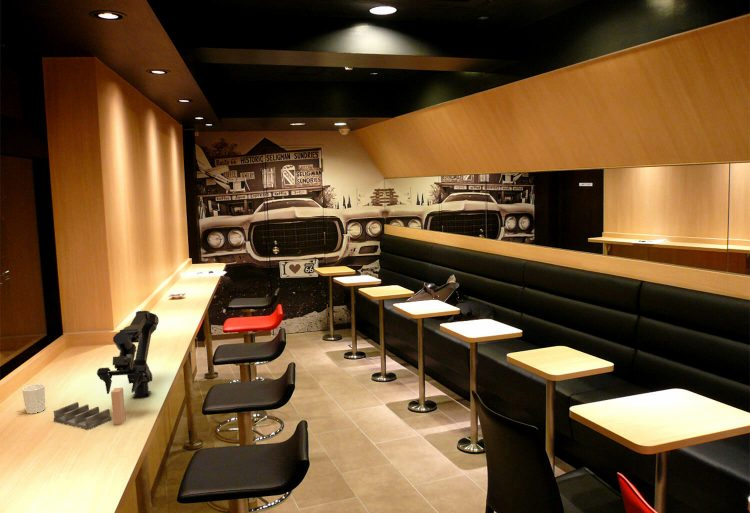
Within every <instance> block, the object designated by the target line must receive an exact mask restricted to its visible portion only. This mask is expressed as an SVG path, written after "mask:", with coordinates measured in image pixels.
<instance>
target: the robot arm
mask: <svg viewBox="0 0 750 513" xmlns="http://www.w3.org/2000/svg"><path fill="white" fill-rule="evenodd" d="M159 322H160V320H159V317H158V315H157V314H155V313H152V312H150V311H149V310H138V311H136V312H135V316H134V318H133V319H132V321H131V323H130V324H129V325H128V326H125V327H124V328H123V329H120V330H119V332H117V333H115V334H114V336H113V337H112V340H113V341H112V342H113V343H114V344H115V346H116V348H117V349H118V350H119V355H117V356H112V366H114V370H111V369H110V367H99V368H98V369H97V371H96V375H97V377H98V378H99V379H100V380H101V381H103V382H104V384H105V385H104V386H105V391H106V394H107V395H109V394H110V393H111V388H112V387H111V386H112V382H113V380H112V378H113V376H127V380H128V384H132V386H131V393H133V396H132V398H133V399H139V398H140V399H141V398H148V397H150V396H151V395H150V394H151V390H149V383H150V382H152V381H153V374H152V373H153V372H151V370H150V367H149V365H148V362H147V360H148V355H149V350H150V349H149V348H150V344H151V343H150V342H151V339H152V338H151V337H152V335H153V333H154V332H155V331H156V330H157V327H158V325H159ZM135 343H137V346H136V345H135ZM115 369H116V370H115Z"/></svg>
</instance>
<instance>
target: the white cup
mask: <svg viewBox="0 0 750 513" xmlns="http://www.w3.org/2000/svg"><path fill="white" fill-rule="evenodd" d="M45 389H46V388H45V384H44V383H37V384H35V383H33V384H29V385H27V386H24V387H22V389H21V391H22V397H23V403H24V406H25V411H26V412H27V413H26V414H28V413H31V414H30V415H33V414H32V413H36V414H38V413H37V412H40V411H42V412H44V411H45V410H46V391H45ZM44 409H45V410H44ZM43 410H44V411H43ZM40 413H41V412H40Z"/></svg>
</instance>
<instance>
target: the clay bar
mask: <svg viewBox="0 0 750 513" xmlns="http://www.w3.org/2000/svg"><path fill="white" fill-rule="evenodd" d="M110 395H111V396H110V398H111V406H112V419H113V426H117V425H116V424H122V423H123V422H124V421H126V408H125V407H126V406H125V395H124V387H115V388H113V389H112V390H111V391H110ZM124 423H125V422H124ZM124 423H123V424H124ZM123 424H122V425H123Z"/></svg>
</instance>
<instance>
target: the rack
mask: <svg viewBox="0 0 750 513" xmlns="http://www.w3.org/2000/svg"><path fill="white" fill-rule="evenodd" d="M53 417H54V418H53V422H55V421H56V422H55V423H58V424H59V423H60V424H63V423H64V424H63V425H67V424H69V425H68V426H71V425H72V427H75V426H77V427H76V428H79V427H81V428H80V429H83V428H85V430H87V429H90V430H92V429H94V428H97V427H99V426H101V425H103V424H105V423H107V422H110V421H112V417H111V410H110V409H109V408H107V409H104V410H101V411H100V407H99V406H95V407H93V408H91V409H90V406H89V404H83V405H82V406H79V401H78V402H77V401H76V402H74V403H72V404H69V405H65V406H63V407H61V408H58V409H56V410H54V411H53ZM98 425H99V426H98ZM93 427H94V428H93ZM91 428H92V429H91Z"/></svg>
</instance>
